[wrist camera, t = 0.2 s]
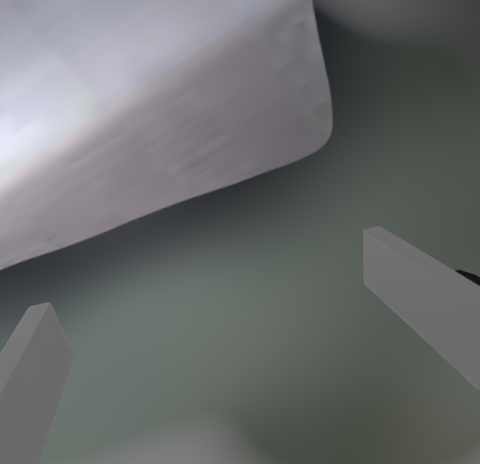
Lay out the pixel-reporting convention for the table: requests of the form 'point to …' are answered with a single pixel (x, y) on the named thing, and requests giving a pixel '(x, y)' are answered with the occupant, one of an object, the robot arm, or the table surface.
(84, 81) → the table surface
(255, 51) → the table surface
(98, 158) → the table surface
